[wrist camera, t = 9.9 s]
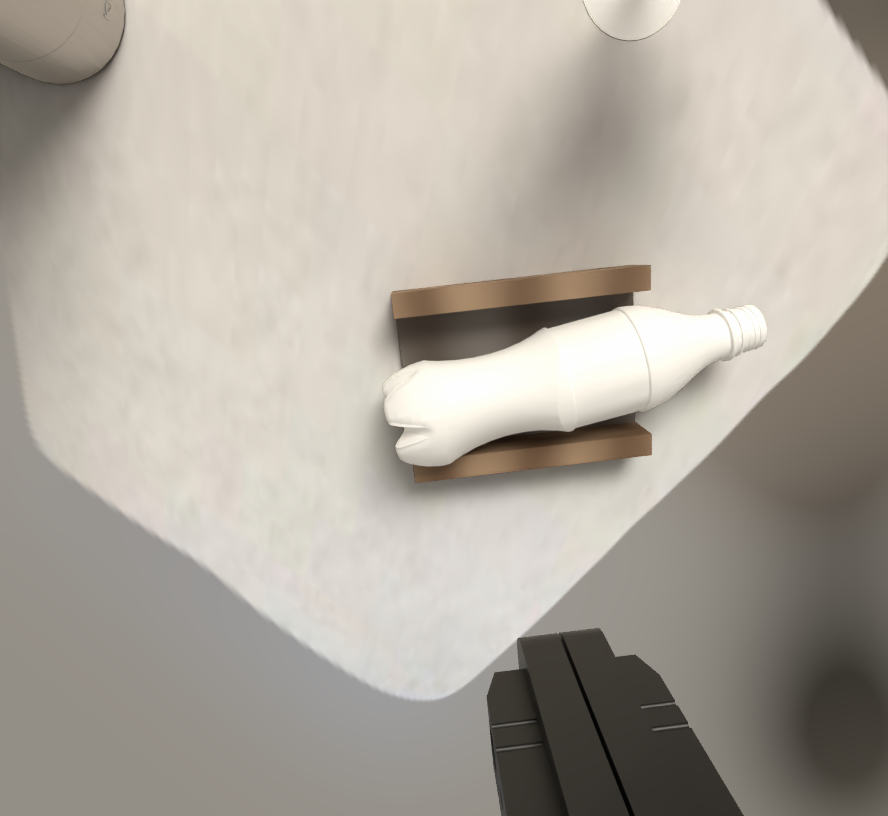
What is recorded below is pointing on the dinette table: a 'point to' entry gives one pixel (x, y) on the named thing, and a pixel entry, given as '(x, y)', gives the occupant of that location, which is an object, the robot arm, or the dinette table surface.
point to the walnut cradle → (505, 324)
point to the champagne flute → (631, 16)
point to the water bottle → (561, 378)
